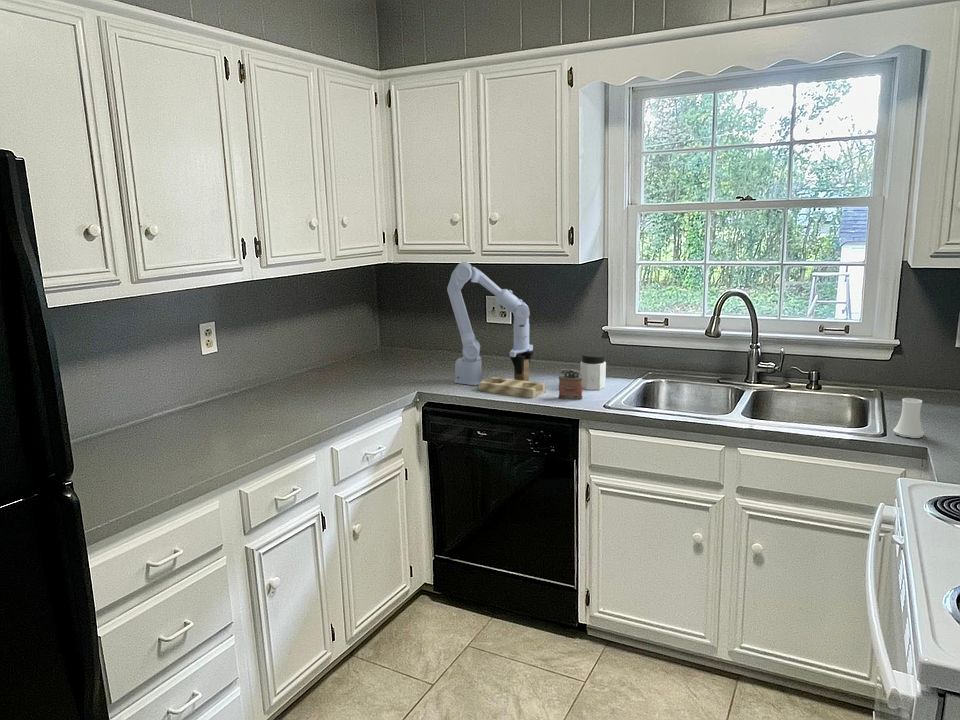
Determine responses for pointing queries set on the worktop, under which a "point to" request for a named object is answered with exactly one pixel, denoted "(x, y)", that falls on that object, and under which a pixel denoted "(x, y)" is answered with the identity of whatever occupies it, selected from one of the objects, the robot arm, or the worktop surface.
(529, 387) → the wooden tray with recesses
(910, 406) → the white flared vase
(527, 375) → the peg
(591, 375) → the jar
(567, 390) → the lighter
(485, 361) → the worktop surface
